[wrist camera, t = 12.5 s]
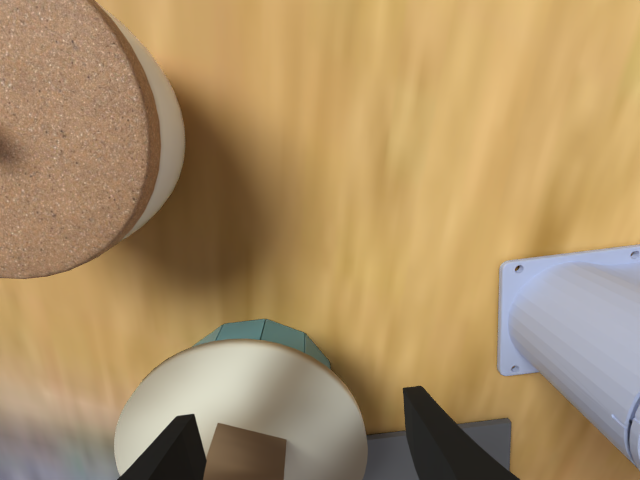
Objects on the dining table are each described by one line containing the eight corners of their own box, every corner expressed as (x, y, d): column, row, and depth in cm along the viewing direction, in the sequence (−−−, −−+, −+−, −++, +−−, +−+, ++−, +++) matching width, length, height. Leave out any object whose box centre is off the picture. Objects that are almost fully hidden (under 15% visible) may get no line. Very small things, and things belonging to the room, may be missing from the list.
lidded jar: (192, 250, 20) (98, 335, 11) (1, 200, 19) (-277, 249, 10) (232, 59, 18) (151, -34, 8) (13, -12, 16) (-350, -207, 7)
